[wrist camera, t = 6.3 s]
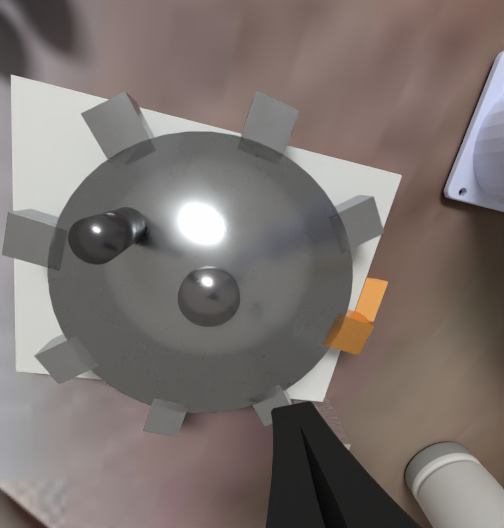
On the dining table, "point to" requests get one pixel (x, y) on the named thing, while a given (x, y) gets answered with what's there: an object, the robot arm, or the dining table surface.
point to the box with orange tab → (329, 418)
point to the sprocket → (197, 266)
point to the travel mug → (455, 488)
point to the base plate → (91, 156)
